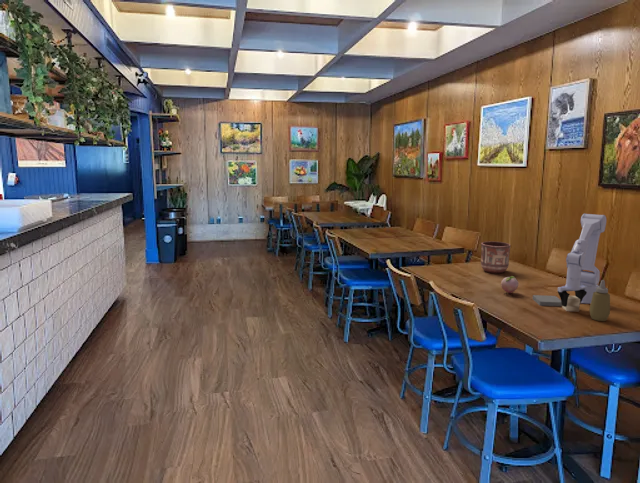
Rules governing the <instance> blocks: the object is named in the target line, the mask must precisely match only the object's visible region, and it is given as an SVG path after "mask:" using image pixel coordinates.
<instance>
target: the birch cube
mask: <svg viewBox="0 0 640 483" xmlns="http://www.w3.org/2000/svg"><path fill="white" fill-rule="evenodd" d="M580 305H581V303H580V299H579V298H578V297H576V296H575V295H569V297H568V300H567V306H566V307H564V306H561V308H562V309H563V310H565V311H566V312H580Z"/></svg>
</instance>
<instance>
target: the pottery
mask: <svg viewBox="0 0 640 483" xmlns="http://www.w3.org/2000/svg"><path fill="white" fill-rule="evenodd" d="M480 245H481V246H480V247H481V252H480V253H481V255H480V256H481V257H480V266H481V268H482V269H483V271H484V272H486V273H489V274H502V273H504V272H506V271H507V270H508V268H509V261H510V252H511V243H508V242H503V241H490V240H489V241H483V242H481V244H480Z"/></svg>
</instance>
